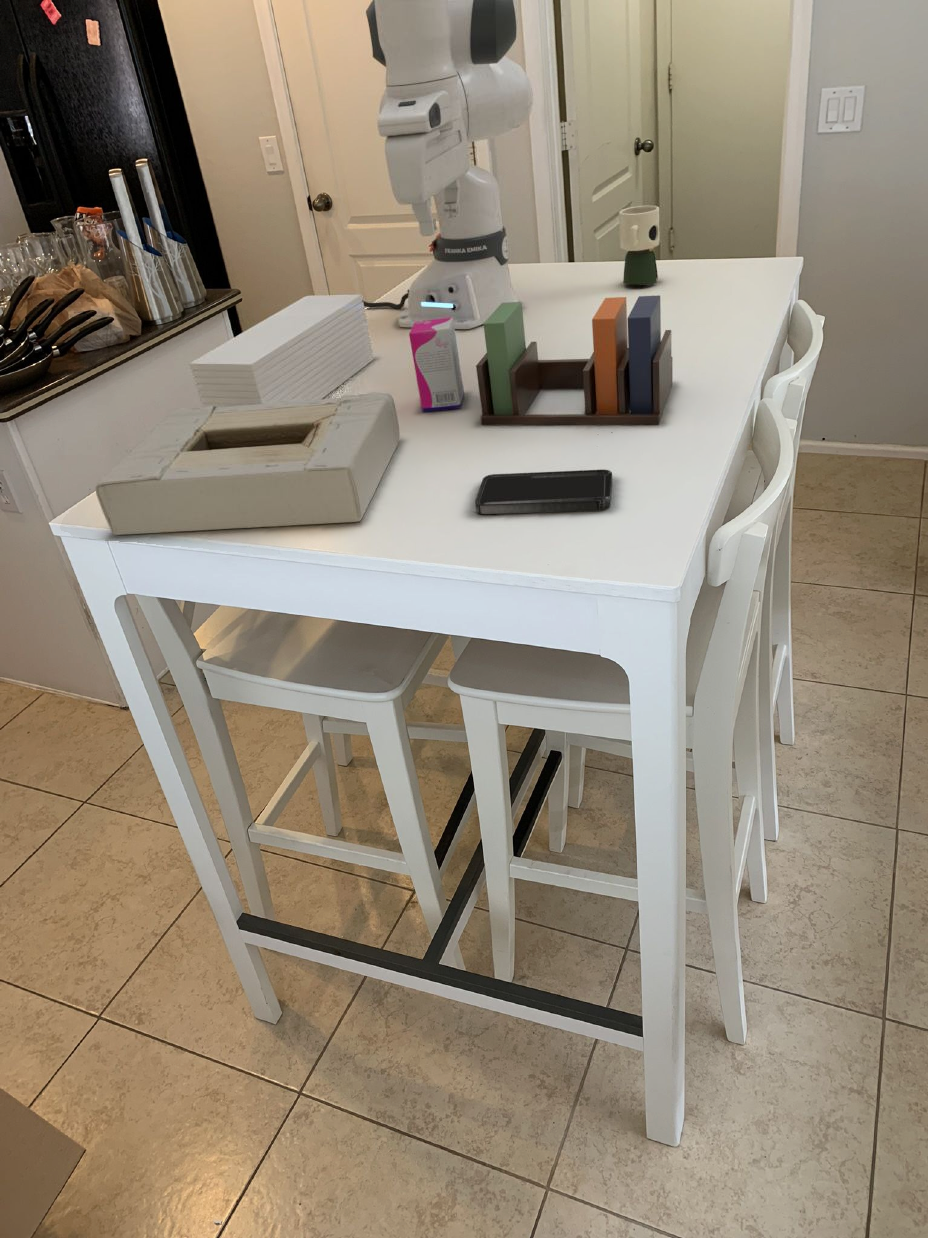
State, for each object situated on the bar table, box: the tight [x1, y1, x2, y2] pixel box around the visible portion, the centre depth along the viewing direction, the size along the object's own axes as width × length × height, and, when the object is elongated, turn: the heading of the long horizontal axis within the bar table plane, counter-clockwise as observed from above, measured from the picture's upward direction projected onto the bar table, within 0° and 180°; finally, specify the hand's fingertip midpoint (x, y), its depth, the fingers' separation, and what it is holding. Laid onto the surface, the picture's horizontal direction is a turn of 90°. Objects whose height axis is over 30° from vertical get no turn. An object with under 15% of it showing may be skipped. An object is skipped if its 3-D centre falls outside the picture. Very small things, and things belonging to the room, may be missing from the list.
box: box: [95, 392, 401, 536], centre depth 114 cm, size 23×8×32 cm
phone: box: [474, 469, 613, 515], centre depth 103 cm, size 8×1×15 cm
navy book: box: [627, 294, 662, 414], centre depth 118 cm, size 3×9×13 cm, turn 162°
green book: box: [482, 301, 527, 415], centre depth 124 cm, size 3×9×13 cm, turn 162°
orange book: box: [591, 296, 628, 414], centre depth 119 cm, size 3×9×13 cm, turn 162°
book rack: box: [475, 329, 674, 426], centre depth 122 cm, size 24×14×8 cm, turn 72°
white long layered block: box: [188, 294, 375, 407], centre depth 140 cm, size 32×11×11 cm, turn 157°
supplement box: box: [408, 317, 465, 413], centre depth 128 cm, size 6×6×12 cm
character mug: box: [618, 204, 661, 287], centre depth 165 cm, size 11×7×13 cm, turn 159°
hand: (441, 225), depth 120 cm, fingers open, 8 cm apart
